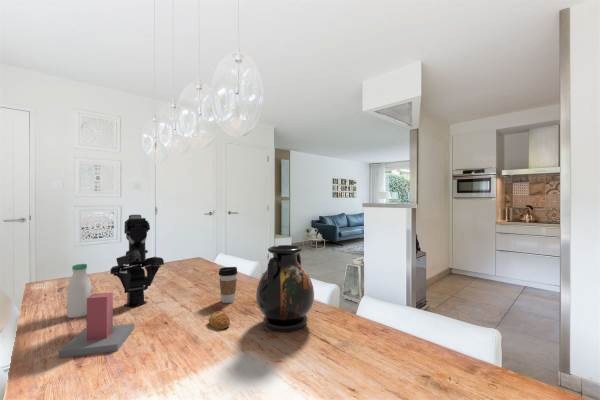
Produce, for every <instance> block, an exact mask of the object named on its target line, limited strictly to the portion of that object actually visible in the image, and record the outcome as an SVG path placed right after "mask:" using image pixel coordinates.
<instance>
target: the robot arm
mask: <svg viewBox="0 0 600 400" xmlns="http://www.w3.org/2000/svg"><path fill="white" fill-rule="evenodd" d="M146 219H147V218H146V217H142V214H129V215H128V218H127V219H126V221H124V227H123V228H124V234H125V237H126V240H127V241H128V250H126V252H125V255H122V256H119V257H116V259H115V260H116V263H117V265H115V266H112V267H111V268H110V271H109V272H110V275H113V276H114V277H117V278H118V279H119V281H120V282H121V285H122V286H123V291H124V294H126V293H127V294H126V300H127V302H126V303H124V304H123V306H125V307H130V308H136V307H138V306H141V305H144V304H147V301H146V300H145V291H146V290H148V289H149V287H151V285H152V283H153V281H154V279H155V277H156V275H157V272H159V269H161V267H162V266H163V265H165V263H164V262H165V260H164V258H163V257H158V256H152V257H146V255H147V254H148V252H149V250H148V249H146V240H147V237H148V232H149V231H150V228H151V227H150V226H151V225H150V223H149V221H148V220H146Z"/></svg>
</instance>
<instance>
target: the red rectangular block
mask: <svg viewBox="0 0 600 400" xmlns="http://www.w3.org/2000/svg"><path fill="white" fill-rule="evenodd" d="M113 312H114V292H100V293H93V294H92V295H91V296H90V297H88V298H87V315H86V328H87V340H94V339H103V338H107V337H108V336H109V335H110V334H111V333H112V332H113V324H114V322H113V320H114V319H113V317H114V313H113Z"/></svg>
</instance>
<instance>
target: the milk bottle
mask: <svg viewBox="0 0 600 400" xmlns="http://www.w3.org/2000/svg"><path fill="white" fill-rule="evenodd" d="M87 267H88V264H87V263H79V264H74V265H72V275H71V278H70V280H69V281H68V284H67V289H66V291H67V293H66V316H67V318H71V319H74V318H76V319H77V318H82V317H84V316H87V298H88V297H90V296H91V295H93V294H92V291H93V290H92V281H91V279H90V277H89V275H88V273H87V269H88V268H87Z"/></svg>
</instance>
